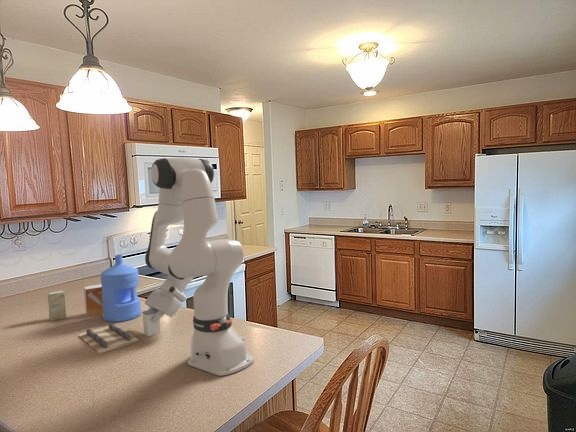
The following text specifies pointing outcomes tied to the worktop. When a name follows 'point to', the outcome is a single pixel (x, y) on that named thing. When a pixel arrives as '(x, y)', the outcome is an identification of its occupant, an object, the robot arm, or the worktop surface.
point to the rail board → (108, 338)
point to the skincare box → (56, 305)
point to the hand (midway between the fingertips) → (149, 320)
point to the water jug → (120, 292)
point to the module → (150, 322)
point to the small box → (93, 300)
